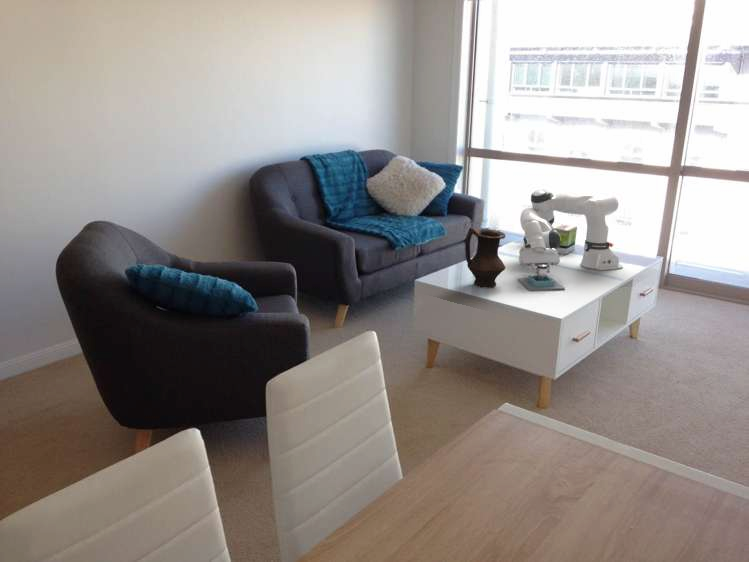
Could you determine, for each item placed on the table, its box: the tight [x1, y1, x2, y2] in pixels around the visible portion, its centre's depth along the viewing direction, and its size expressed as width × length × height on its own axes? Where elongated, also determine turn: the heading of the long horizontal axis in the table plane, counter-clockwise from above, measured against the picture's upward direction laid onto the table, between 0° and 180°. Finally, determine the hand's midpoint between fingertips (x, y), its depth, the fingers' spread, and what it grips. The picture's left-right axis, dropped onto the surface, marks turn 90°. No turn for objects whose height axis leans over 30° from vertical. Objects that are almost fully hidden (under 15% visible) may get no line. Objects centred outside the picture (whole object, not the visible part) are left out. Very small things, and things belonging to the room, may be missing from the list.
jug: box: [464, 226, 506, 288], centre depth 325 cm, size 21×18×30 cm
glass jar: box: [535, 264, 548, 281], centre depth 327 cm, size 5×5×8 cm
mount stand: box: [517, 275, 566, 292], centre depth 329 cm, size 18×18×4 cm
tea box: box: [553, 224, 578, 255], centre depth 395 cm, size 15×10×15 cm
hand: (542, 272), depth 327 cm, fingers closed on glass jar, 5 cm apart
